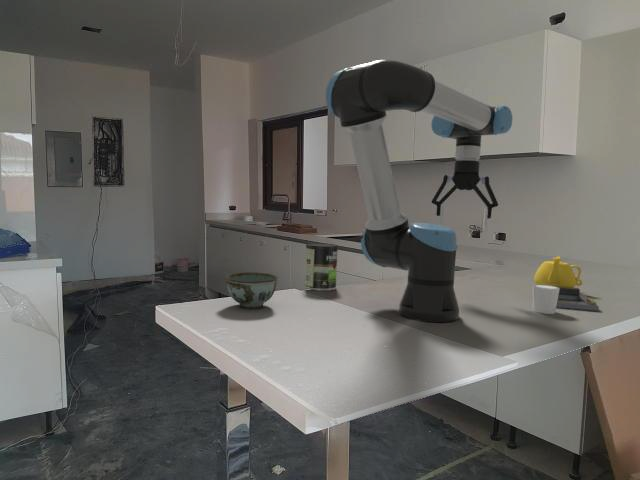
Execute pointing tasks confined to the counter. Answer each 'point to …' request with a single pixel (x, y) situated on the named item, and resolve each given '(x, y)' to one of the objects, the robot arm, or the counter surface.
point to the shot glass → (545, 298)
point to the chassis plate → (573, 294)
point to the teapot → (557, 274)
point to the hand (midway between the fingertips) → (462, 227)
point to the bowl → (251, 288)
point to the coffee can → (321, 266)
